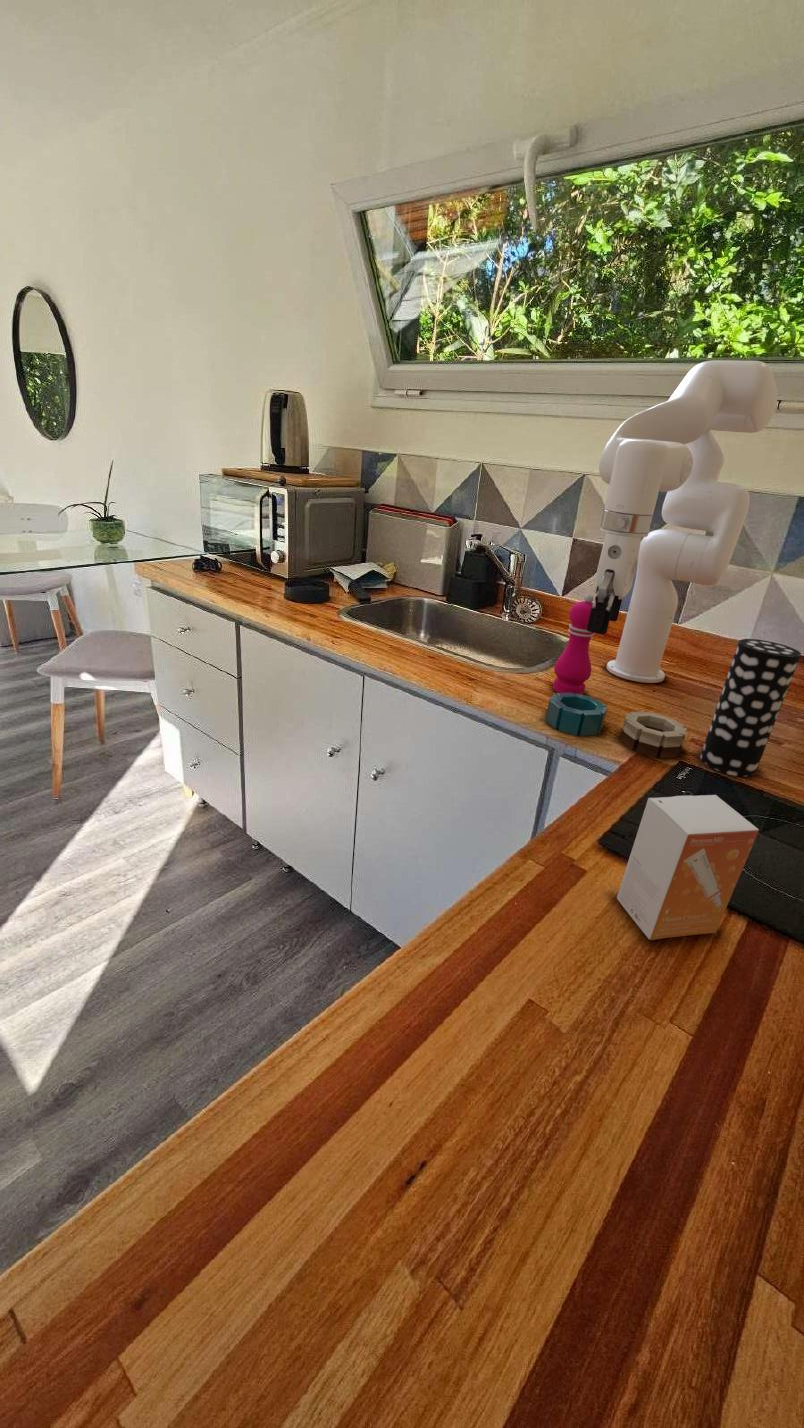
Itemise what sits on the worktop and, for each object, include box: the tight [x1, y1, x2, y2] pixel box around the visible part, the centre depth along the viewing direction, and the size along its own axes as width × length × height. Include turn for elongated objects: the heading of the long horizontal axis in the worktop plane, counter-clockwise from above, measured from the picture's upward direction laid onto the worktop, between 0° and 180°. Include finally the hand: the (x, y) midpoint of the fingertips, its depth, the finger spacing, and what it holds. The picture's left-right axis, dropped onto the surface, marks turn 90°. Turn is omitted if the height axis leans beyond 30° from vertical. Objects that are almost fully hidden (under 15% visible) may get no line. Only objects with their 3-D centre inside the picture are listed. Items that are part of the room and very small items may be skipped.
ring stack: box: [619, 710, 688, 759], centre depth 101 cm, size 10×10×4 cm
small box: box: [616, 794, 760, 941], centre depth 60 cm, size 8×6×13 cm
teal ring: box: [545, 692, 608, 737], centre depth 106 cm, size 10×10×4 cm
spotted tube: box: [700, 638, 802, 778], centre depth 93 cm, size 8×8×20 cm
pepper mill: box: [552, 593, 595, 695], centre depth 118 cm, size 7×7×20 cm
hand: (602, 625), depth 103 cm, fingers open, 9 cm apart
